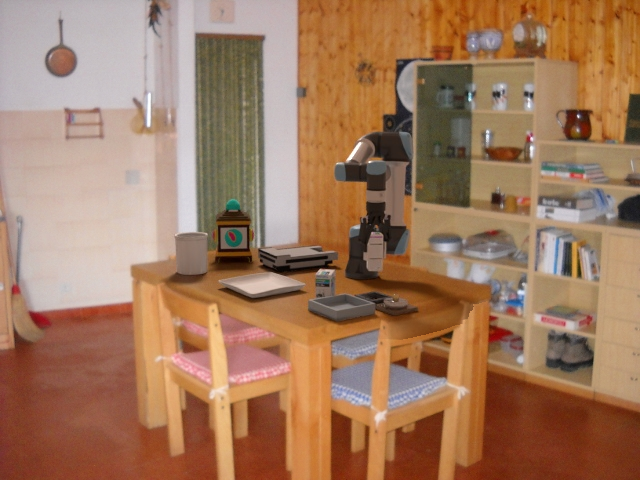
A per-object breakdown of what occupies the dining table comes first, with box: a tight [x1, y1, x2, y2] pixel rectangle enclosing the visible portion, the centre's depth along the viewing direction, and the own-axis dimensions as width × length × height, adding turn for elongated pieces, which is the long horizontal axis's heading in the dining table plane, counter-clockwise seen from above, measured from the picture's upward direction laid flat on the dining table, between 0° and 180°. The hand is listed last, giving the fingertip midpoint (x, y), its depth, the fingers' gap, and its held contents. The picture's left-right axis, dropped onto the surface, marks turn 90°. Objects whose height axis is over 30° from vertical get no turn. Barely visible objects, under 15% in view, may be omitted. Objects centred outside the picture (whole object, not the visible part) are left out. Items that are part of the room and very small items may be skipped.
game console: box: [257, 244, 339, 274], centre depth 368 cm, size 21×32×8 cm, turn 119°
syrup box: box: [367, 232, 384, 272], centre depth 302 cm, size 6×6×14 cm
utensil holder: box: [174, 231, 209, 276], centre depth 353 cm, size 15×15×18 cm
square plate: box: [217, 271, 307, 299], centre depth 324 cm, size 27×27×4 cm
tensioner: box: [353, 290, 419, 317], centre depth 299 cm, size 24×12×6 cm, turn 35°
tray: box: [307, 293, 376, 322], centre depth 291 cm, size 18×18×4 cm
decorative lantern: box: [212, 198, 255, 264], centre depth 378 cm, size 20×20×30 cm
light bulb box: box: [314, 268, 336, 299], centre depth 310 cm, size 11×7×11 cm, turn 170°
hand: (374, 258), depth 302 cm, fingers closed on syrup box, 8 cm apart
